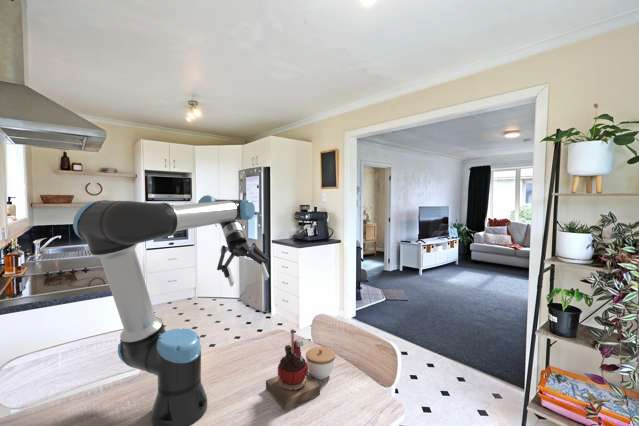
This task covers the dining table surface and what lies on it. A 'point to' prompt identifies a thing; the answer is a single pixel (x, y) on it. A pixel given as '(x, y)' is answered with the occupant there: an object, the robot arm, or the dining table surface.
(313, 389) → the plinth
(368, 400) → the dining table surface
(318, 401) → the dining table surface
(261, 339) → the dining table surface
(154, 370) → the robot arm
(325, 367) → the lidded jar
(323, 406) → the dining table surface
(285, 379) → the cake
